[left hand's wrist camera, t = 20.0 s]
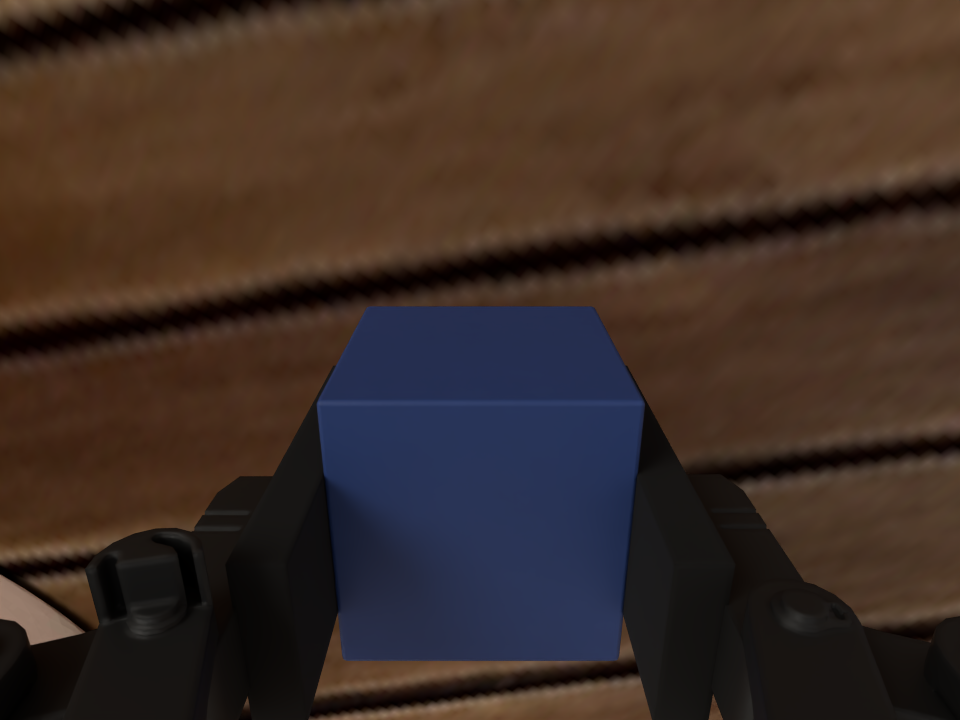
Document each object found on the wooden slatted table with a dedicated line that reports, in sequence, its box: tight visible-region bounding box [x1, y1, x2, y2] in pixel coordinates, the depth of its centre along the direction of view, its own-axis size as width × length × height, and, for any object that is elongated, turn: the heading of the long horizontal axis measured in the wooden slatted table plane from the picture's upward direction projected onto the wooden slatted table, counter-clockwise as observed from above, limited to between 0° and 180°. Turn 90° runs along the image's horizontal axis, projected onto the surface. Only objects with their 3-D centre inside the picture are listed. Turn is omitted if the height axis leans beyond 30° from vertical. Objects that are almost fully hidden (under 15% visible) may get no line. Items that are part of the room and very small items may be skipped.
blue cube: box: [317, 307, 645, 661], centre depth 13 cm, size 5×5×5 cm
